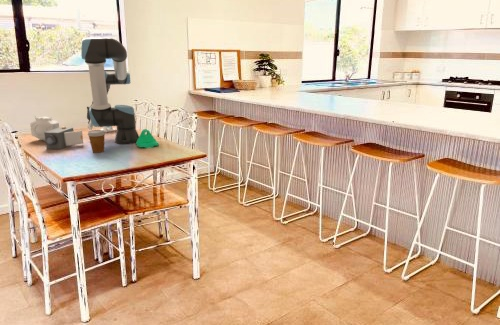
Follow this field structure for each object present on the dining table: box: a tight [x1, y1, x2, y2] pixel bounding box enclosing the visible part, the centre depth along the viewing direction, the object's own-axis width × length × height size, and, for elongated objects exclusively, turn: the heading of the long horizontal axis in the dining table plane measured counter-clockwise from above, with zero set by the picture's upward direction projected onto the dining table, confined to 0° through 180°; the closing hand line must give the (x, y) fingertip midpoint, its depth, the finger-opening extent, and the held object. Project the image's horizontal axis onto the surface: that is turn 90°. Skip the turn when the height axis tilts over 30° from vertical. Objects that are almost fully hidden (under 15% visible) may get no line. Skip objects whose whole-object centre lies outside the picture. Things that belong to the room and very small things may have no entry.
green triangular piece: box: [135, 129, 160, 149], centre depth 248 cm, size 12×8×10 cm, turn 120°
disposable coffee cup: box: [87, 129, 106, 154], centre depth 235 cm, size 10×10×12 cm
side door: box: [64, 130, 84, 147], centre depth 249 cm, size 11×1×8 cm, turn 128°
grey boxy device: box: [44, 126, 75, 150], centre depth 248 cm, size 19×9×11 cm, turn 173°
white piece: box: [99, 126, 117, 133], centre depth 296 cm, size 12×11×15 cm
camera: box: [30, 115, 60, 142], centre depth 263 cm, size 11×18×16 cm, turn 76°
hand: (89, 128), depth 264 cm, fingers closed
